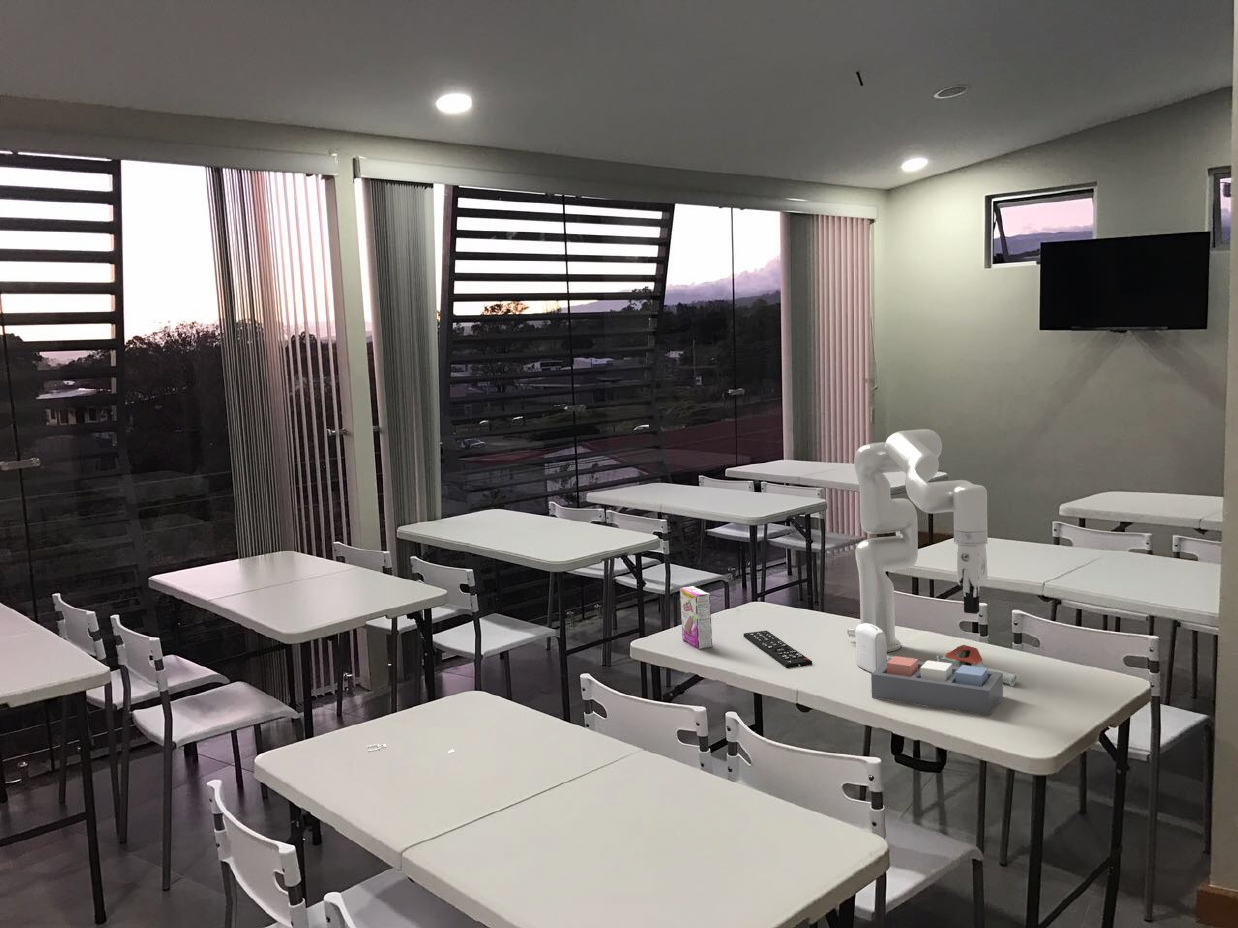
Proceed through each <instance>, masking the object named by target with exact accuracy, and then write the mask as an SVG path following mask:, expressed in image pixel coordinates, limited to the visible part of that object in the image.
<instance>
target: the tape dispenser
mask: <svg viewBox="0 0 1238 928" xmlns="http://www.w3.org/2000/svg"><path fill="white" fill-rule="evenodd" d="M980 653H981V652H979V649H978V648H977V647H973V646H970V645H966V644H962V645H960V646H957V647H956V648H954V649H952V650H951V651H949V652H947V653H945V654H943V655H942V654H941V655H936V658H937V661H936V662H944V663H952V666H956V667H961V666H962V665H967V666H974V667H982V668H988V671H993V672H1001V673H1003V684H1007V685H1009V686H1010V687H1014V686H1015V685H1016V682H1017V674H1016V673H1010V672H1006V671H1003V670H999V669H995V668H991V667H987V666H984V665H983V658H982V656H981V654H980Z"/></svg>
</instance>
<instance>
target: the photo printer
mask: <svg viewBox="0 0 1238 928" xmlns="http://www.w3.org/2000/svg"><path fill="white" fill-rule="evenodd" d="M854 638H855V658H856V659H855V661H856V662H855V663H856V666H857V667H859V668H861V669H863V670H866V671H868V672H870V673H871V674H872V673H873V672H874V671H875V670H876V669H878V668H879V667H880V666H881V665H882V664H883V663H884V662H885V661H886V660H888V655H887V653H888V652H887V644H886V635H885V633H884V632H883V631H882V630H881V629H880V628H878V627H876V626H875V625H872V624H868V623H864V624H861V623H860V624H858V625H856V628H855V637H854Z"/></svg>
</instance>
